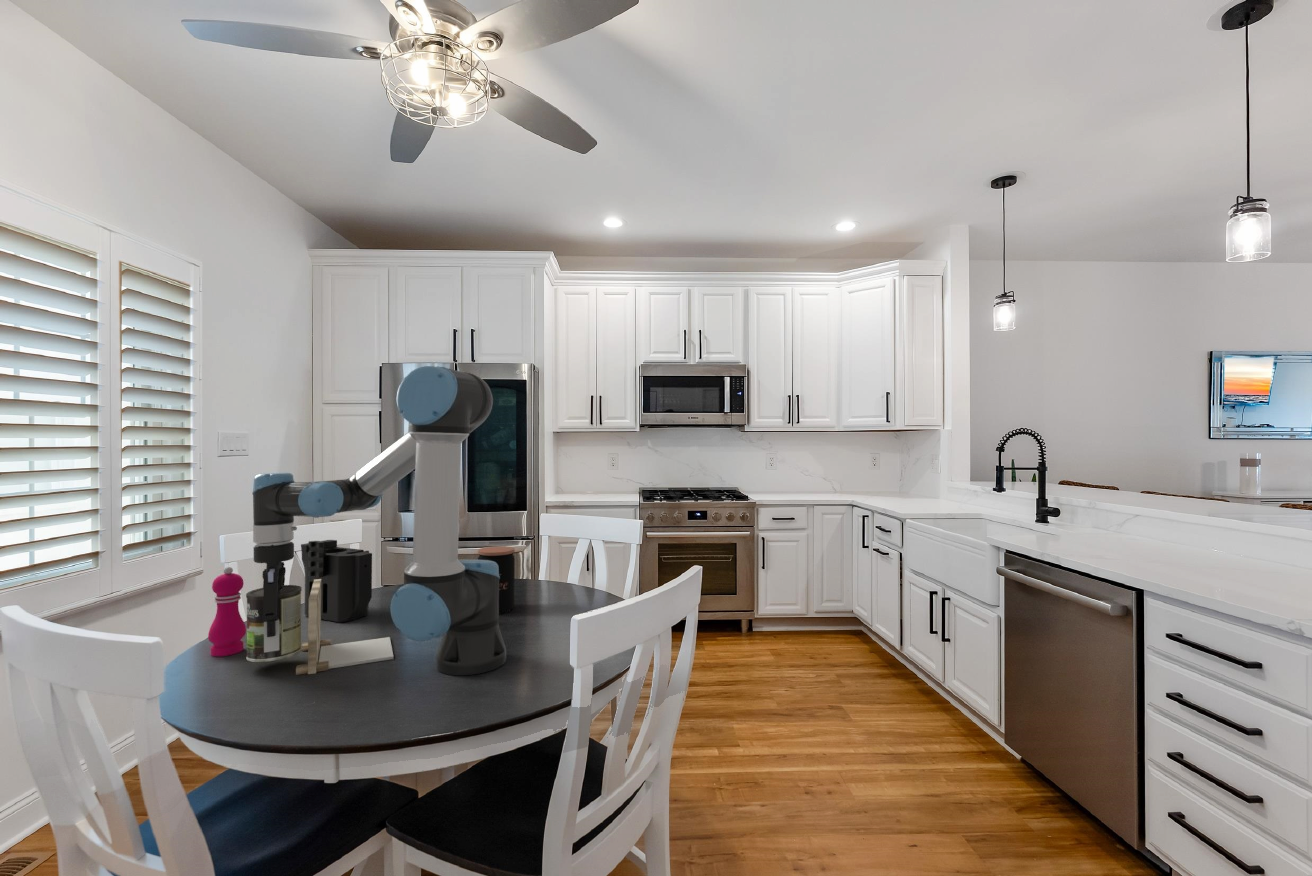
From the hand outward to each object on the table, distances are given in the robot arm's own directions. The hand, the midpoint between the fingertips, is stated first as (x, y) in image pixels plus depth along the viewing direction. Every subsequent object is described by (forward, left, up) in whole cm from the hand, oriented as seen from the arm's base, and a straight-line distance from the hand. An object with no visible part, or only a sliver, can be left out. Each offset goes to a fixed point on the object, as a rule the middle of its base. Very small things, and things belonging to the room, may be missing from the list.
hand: (274, 643), depth 129 cm
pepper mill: (+15, +11, -5) cm, 20 cm away
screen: (+1, -8, -5) cm, 9 cm away
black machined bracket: (+35, -11, -5) cm, 37 cm away
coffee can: (0, 0, -3) cm, 3 cm away
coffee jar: (+22, -53, -5) cm, 58 cm away
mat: (0, -16, -5) cm, 17 cm away
